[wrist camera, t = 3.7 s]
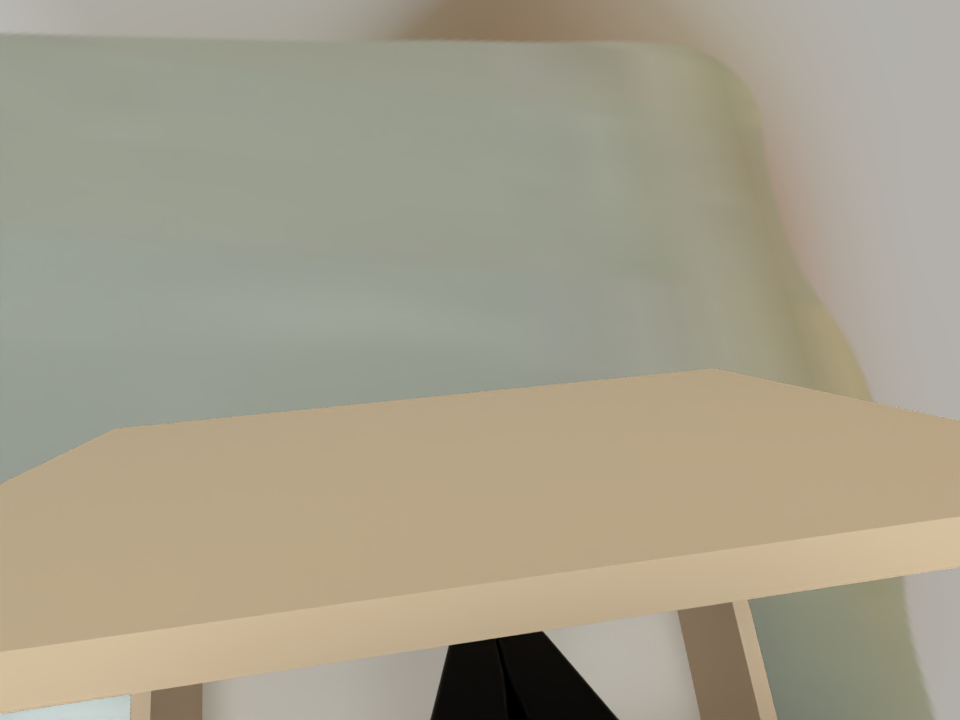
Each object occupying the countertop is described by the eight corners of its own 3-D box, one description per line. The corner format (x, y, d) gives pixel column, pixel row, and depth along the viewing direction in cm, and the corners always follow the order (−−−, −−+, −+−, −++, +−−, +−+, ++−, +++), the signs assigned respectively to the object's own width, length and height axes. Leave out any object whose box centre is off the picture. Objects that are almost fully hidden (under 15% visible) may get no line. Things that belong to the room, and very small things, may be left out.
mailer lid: (1226, 525, 7) (1226, 478, 7) (-472, 785, 5) (-491, 721, 5) (714, 387, 17) (713, 368, 17) (117, 450, 15) (114, 428, 15)
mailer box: (722, 779, 18) (805, 830, 14) (189, 882, 16) (120, 971, 12) (645, 426, 21) (695, 390, 17) (193, 476, 19) (139, 448, 15)
